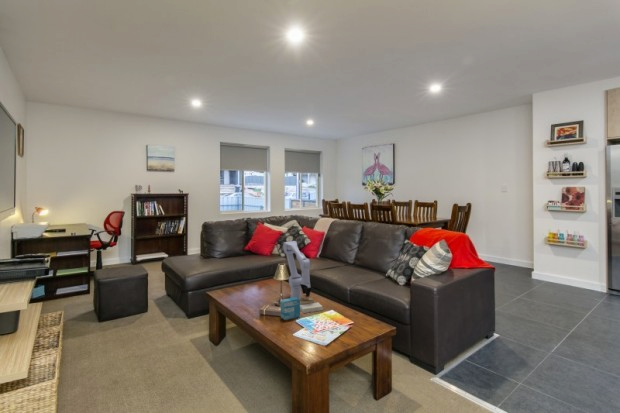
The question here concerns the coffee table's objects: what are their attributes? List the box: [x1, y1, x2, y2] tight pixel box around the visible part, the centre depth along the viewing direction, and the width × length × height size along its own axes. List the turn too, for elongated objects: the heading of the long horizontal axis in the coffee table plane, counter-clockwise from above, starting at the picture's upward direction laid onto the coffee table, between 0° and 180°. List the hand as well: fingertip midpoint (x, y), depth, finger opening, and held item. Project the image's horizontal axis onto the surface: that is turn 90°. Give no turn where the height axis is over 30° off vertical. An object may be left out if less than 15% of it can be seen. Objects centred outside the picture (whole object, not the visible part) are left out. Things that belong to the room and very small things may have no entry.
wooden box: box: [299, 296, 315, 305], centre depth 227 cm, size 6×10×4 cm, turn 109°
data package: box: [280, 297, 301, 321], centre depth 204 cm, size 12×4×12 cm, turn 117°
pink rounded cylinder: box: [302, 294, 310, 301], centre depth 227 cm, size 4×4×3 cm
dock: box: [300, 302, 324, 314], centre depth 217 cm, size 9×14×3 cm, turn 109°
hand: (306, 295), depth 227 cm, fingers open, 7 cm apart
